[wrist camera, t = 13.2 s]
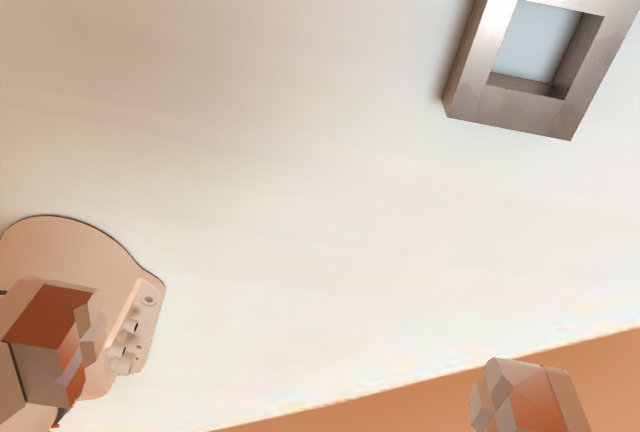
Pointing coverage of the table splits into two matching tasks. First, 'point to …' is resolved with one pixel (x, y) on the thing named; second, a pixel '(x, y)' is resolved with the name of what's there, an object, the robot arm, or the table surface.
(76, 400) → the robot arm
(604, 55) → the rail
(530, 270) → the table surface
